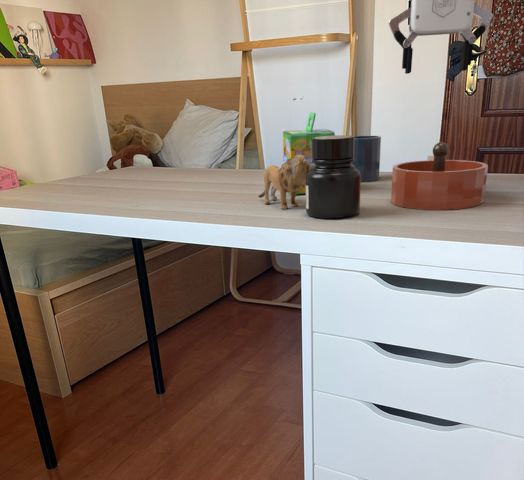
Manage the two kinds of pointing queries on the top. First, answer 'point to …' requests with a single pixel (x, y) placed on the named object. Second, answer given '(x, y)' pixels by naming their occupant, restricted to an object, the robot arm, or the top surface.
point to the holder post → (440, 156)
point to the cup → (367, 157)
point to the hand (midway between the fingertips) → (435, 71)
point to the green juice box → (302, 144)
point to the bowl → (438, 185)
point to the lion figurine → (286, 179)
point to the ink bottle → (333, 178)
